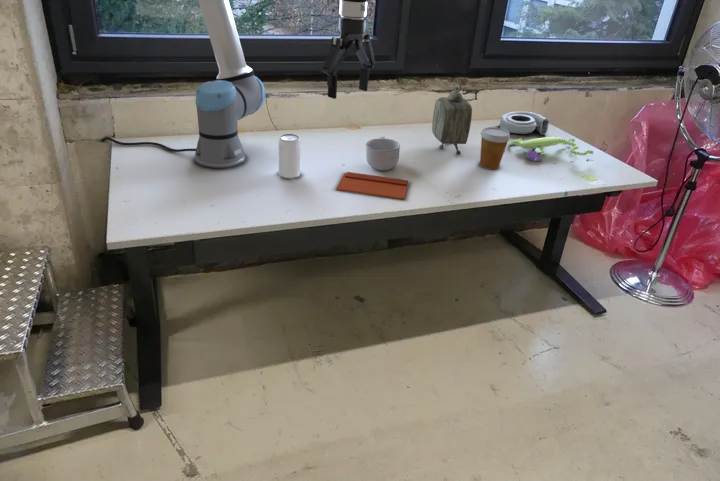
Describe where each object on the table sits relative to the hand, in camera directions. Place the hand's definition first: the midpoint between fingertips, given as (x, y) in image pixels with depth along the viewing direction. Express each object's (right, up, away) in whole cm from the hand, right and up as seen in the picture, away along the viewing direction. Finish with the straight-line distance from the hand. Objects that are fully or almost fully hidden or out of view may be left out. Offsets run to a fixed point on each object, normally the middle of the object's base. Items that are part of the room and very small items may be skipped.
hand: (347, 93), depth 159 cm
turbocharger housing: (+68, +1, +57) cm, 89 cm away
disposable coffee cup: (+47, -18, +22) cm, 55 cm away
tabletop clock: (+34, -11, +33) cm, 49 cm away
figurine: (+72, -12, +36) cm, 82 cm away
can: (-18, -23, +5) cm, 30 cm away
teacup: (+11, -19, +17) cm, 27 cm away
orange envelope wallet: (+8, -27, +2) cm, 28 cm away
